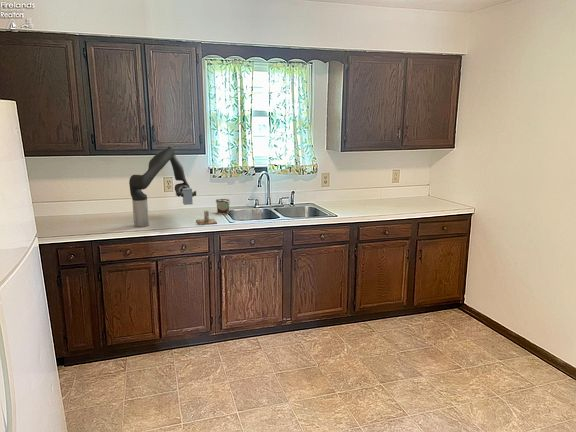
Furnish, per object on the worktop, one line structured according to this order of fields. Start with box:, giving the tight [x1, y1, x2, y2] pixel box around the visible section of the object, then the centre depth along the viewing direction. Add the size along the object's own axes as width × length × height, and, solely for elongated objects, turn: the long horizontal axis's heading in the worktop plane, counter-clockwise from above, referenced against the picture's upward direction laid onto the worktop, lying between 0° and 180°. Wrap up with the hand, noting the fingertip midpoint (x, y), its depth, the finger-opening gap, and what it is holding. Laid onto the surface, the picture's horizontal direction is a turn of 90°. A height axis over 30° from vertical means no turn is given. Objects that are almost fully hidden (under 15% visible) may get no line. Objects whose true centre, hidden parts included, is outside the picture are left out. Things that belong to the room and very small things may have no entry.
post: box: [195, 210, 218, 226], centre depth 295 cm, size 12×12×8 cm
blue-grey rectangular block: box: [182, 187, 194, 206], centre depth 288 cm, size 6×6×10 cm
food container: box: [215, 198, 231, 215], centre depth 325 cm, size 12×6×10 cm, turn 56°
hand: (187, 195), depth 285 cm, fingers closed on blue-grey rectangular block, 5 cm apart
